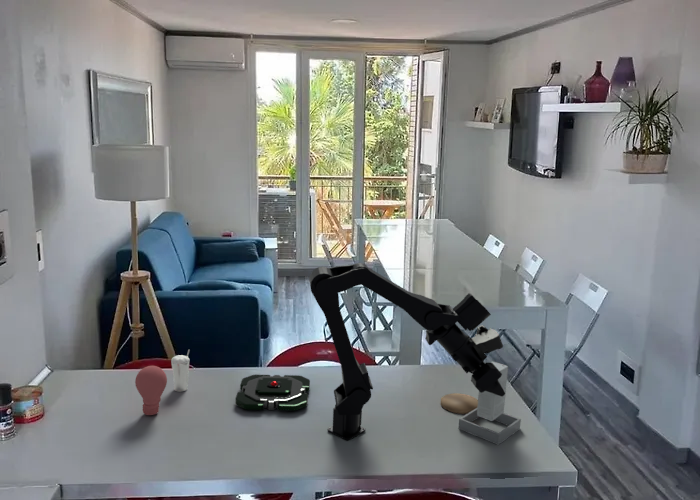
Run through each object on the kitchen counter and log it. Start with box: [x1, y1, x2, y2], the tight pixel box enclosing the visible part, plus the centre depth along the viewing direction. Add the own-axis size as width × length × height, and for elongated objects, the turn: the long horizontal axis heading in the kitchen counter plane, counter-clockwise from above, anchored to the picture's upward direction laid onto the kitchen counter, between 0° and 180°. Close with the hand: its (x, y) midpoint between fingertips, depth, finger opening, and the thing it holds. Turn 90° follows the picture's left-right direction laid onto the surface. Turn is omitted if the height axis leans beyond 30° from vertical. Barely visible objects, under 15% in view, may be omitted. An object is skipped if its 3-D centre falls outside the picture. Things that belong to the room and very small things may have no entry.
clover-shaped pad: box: [234, 374, 311, 412], centre depth 162 cm, size 18×18×5 cm
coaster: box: [440, 393, 478, 415], centre depth 161 cm, size 10×10×1 cm
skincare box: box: [477, 361, 509, 422], centre depth 148 cm, size 6×4×12 cm
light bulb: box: [134, 365, 168, 416], centre depth 149 cm, size 7×7×12 cm
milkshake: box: [170, 349, 191, 393], centre depth 163 cm, size 4×5×10 cm
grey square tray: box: [457, 407, 522, 446], centre depth 149 cm, size 10×10×2 cm
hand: (498, 388), depth 148 cm, fingers closed on skincare box, 7 cm apart
